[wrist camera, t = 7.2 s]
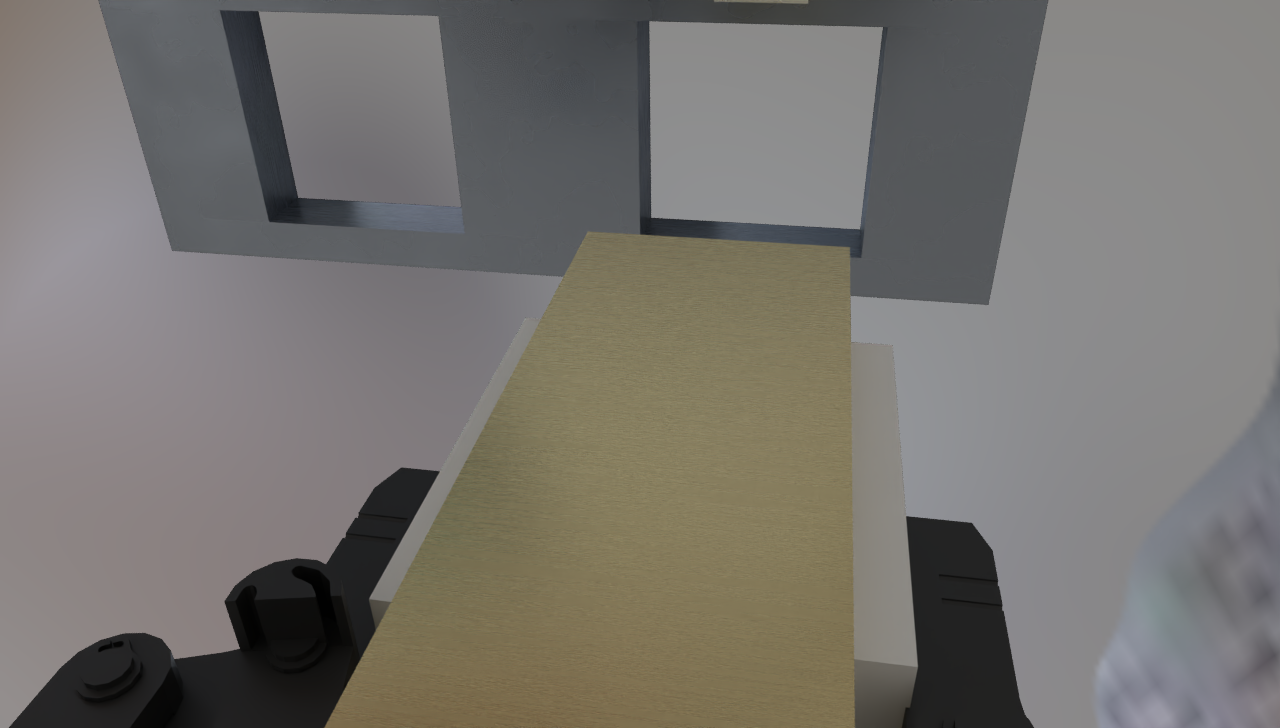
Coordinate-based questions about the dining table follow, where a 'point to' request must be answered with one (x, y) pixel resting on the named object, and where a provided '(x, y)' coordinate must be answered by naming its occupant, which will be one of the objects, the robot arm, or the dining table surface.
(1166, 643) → the dining table surface
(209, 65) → the panel
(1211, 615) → the dining table surface
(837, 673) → the brass block
